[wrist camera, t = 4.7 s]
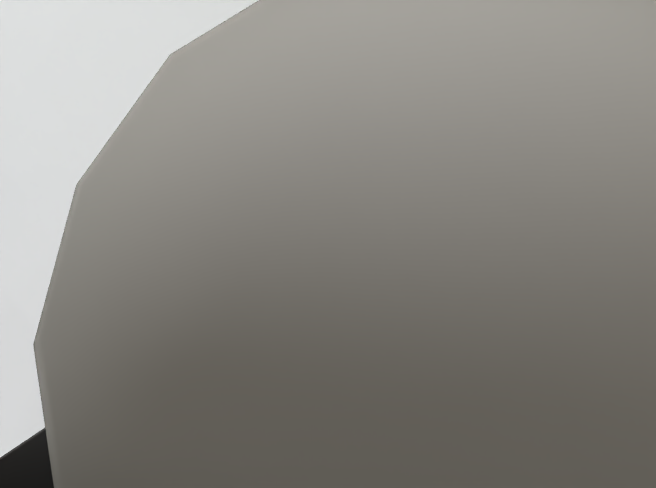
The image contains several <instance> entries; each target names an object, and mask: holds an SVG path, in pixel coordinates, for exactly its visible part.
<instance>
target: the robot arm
mask: <svg viewBox="0 0 656 488" xmlns="http://www.w3.org/2000/svg"><path fill="white" fill-rule="evenodd" d="M0 488H54V484H53V477H52V470H51V463H50V457H49V450H48V443H47V436H46V429H45V428H44V429H42V430H41V431H39V432H38V433H36V434H35V435H33V436H32V437H30V438H29V439H27V440H26V441H24V442H23V443H21V444H20V445H18V446H17V447H15V448H14V449H12V450H11V451H10V452H8V453H7V454H5V455H4V456H2V457H1V458H0Z"/></svg>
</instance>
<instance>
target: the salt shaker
mask: <svg viewBox="0 0 656 488" xmlns="http://www.w3.org/2000/svg"><path fill="white" fill-rule="evenodd" d="M33 345H34V352H35V359H36V366H37V373H38V380H39V387H40V394H41V401H42V408H43V415H44V422H45V429H46V436H47V443H48V450H49V457H50V463H51V470H52V477H53V484H54V488H656V0H259V1H257V2H256V3H254V4H252V5H251V6H249V7H247V8H246V9H244V10H242V11H241V12H239V13H238V14H236V15H234V16H233V17H231V18H229V19H228V20H226V21H224V22H223V23H221V24H219V25H218V26H216V27H215V28H213V29H211V30H210V31H208V32H206V33H205V34H203V35H201V36H200V37H198V38H196V39H195V40H193V41H192V42H190V43H188V44H187V45H185V46H183V47H182V48H180V49H178V50H177V51H175V52H173V53H172V54H170V55H169V57H168V58H167V60H166V61H165V62H164V64H163V65H162V66H161V68H160V69H159V71H158V72H157V73H156V75H155V76H154V78H153V79H152V80H151V82H150V83H149V85H148V86H147V87H146V89H145V90H144V92H143V93H142V94H141V96H140V97H139V98H138V100H137V101H136V103H135V104H134V105H133V107H132V108H131V110H130V111H129V112H128V114H127V115H126V117H125V118H124V119H123V121H122V122H121V123H120V125H119V126H118V128H117V129H116V130H115V132H114V133H113V135H112V136H111V137H110V139H109V140H108V142H107V143H106V144H105V146H104V147H103V149H102V150H101V151H100V153H99V154H98V155H97V157H96V158H95V160H94V161H93V162H92V164H91V165H90V167H89V168H88V169H87V171H86V172H85V174H84V175H83V176H82V178H81V179H80V180H79V182H78V183H77V185H76V188H75V192H74V196H73V199H72V203H71V207H70V211H69V214H68V218H67V222H66V225H65V229H64V233H63V237H62V240H61V244H60V248H59V251H58V255H57V259H56V262H55V266H54V270H53V274H52V277H51V281H50V285H49V288H48V292H47V296H46V300H45V303H44V307H43V311H42V314H41V318H40V322H39V325H38V329H37V333H36V337H35V340H34V344H33Z"/></svg>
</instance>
